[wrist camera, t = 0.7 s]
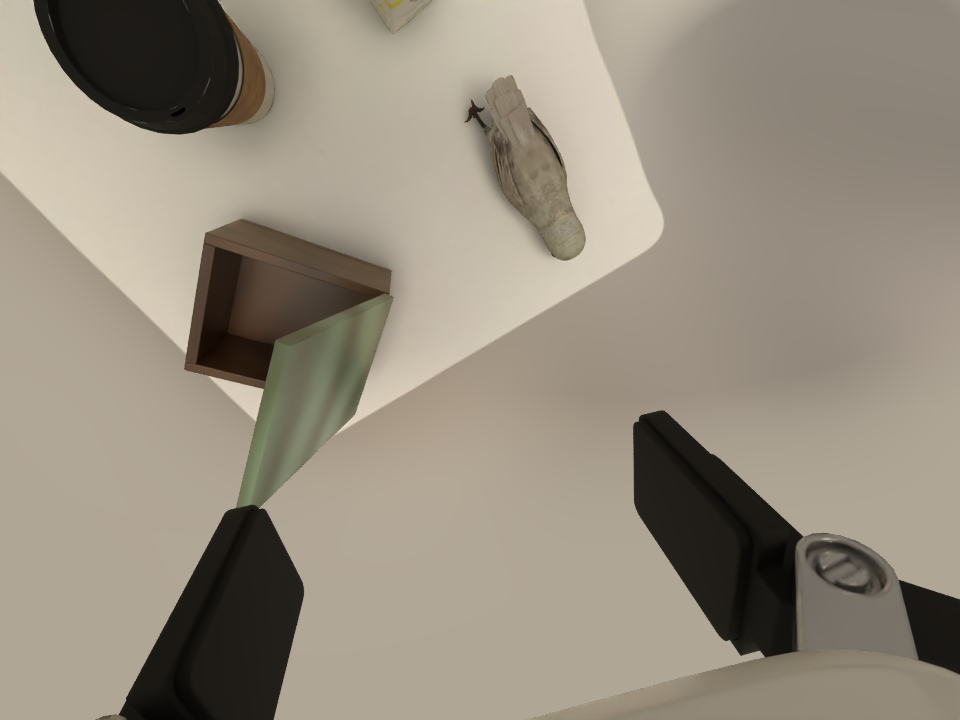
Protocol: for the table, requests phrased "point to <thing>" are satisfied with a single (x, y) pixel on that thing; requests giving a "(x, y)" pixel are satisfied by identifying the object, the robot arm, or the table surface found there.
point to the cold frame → (267, 297)
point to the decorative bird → (531, 168)
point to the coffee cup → (159, 61)
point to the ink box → (398, 11)
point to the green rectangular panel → (310, 394)
